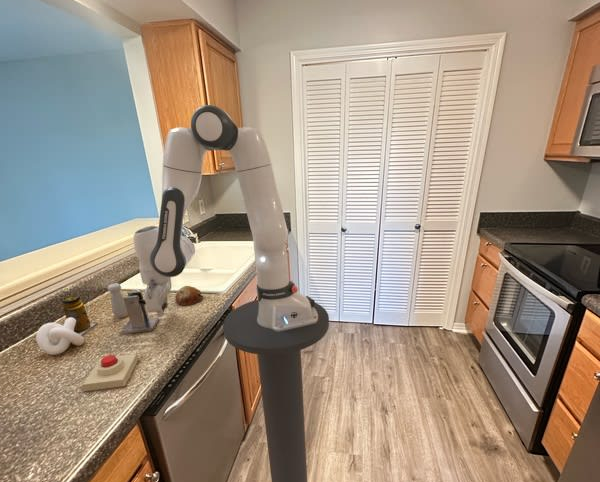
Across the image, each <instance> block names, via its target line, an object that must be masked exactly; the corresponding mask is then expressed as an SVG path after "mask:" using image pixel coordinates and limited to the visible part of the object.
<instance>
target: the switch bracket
mask: <svg viewBox="0 0 600 482" xmlns="http://www.w3.org/2000/svg"><path fill="white" fill-rule="evenodd" d="M126 294H127V296H123V297H124V302H125V305H126V309H127V312H128V319H129V320H128V322H127V323H126V325H125V326H124V328H123V329H122V331H121V332H122V335H127V334H136V333H137V334H139V333H145V332H154V330H155V328H156V326H157V325H158V322H159V317H158V316H155V317H149V315H148V310H147V308H146V305H145V304H142V303H140V301H139V299H142V300H145V298H144V295H143V292H142V290H136V291H128V292H127V293H126ZM131 294H135V295H138V296H140V298H138V296H130V295H131Z"/></svg>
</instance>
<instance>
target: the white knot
mask: <svg viewBox="0 0 600 482" xmlns="http://www.w3.org/2000/svg"><path fill="white" fill-rule="evenodd" d="M75 324H76V319H74V318H72V317H70V318H66V319H65V320H64V322H63V324H60V323H58V322H46V323H44V324H43V325H42V326H40V327H39V328H38V329H37V332H36V336H35V339H36V343H37V346H38V348H39V349H40V350H41V351H42V352H44V353H45V354H47V355H52V356H53V355H54V356H55V355H60V354H63V353H64V352H66V350H67V349H68V348H69V347H70V344H72V345H74V346H79V347H80V346H82V345H84V343H85V338H84V336H83V335H79V334H77V333H76V332H74V327H75Z"/></svg>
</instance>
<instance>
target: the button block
mask: <svg viewBox="0 0 600 482" xmlns="http://www.w3.org/2000/svg"><path fill="white" fill-rule="evenodd" d="M115 356H116V360H117V363H116V364H115V365H113V366H110V367H106V368H104V367H103V366H102V363H101V359H102V358H103V357H100V359H99V360H98V361H97V363H95V365H94V367H93V368H92V369H91V372H90V373H89V374H88V376H87V377H86V379H85V380H84V381H83V383H82V385H81V386H82V387H83V390H84V392H91V391H97V390H99V391H100V390H104V389H114V388H121V387H122V388H123V387H125V386H126V385H127V382H128V381H129V379H130V377H131V375H132V373H133V371H134V369H135V368H136V365H137V363H138V361H139V356H138V354H137V353H130V354H122V355H115Z"/></svg>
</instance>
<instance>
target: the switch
mask: <svg viewBox="0 0 600 482" xmlns="http://www.w3.org/2000/svg"><path fill="white" fill-rule="evenodd" d="M130 296H138V295H135V294H131V295H130ZM138 298H140V296H138ZM139 301H140V303H142V304H145V306H146V302H145V299H144V300H142V299H139ZM166 306H167V304H163V306H162V310H163V312H165V310H166V309H167V308H166Z"/></svg>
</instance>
